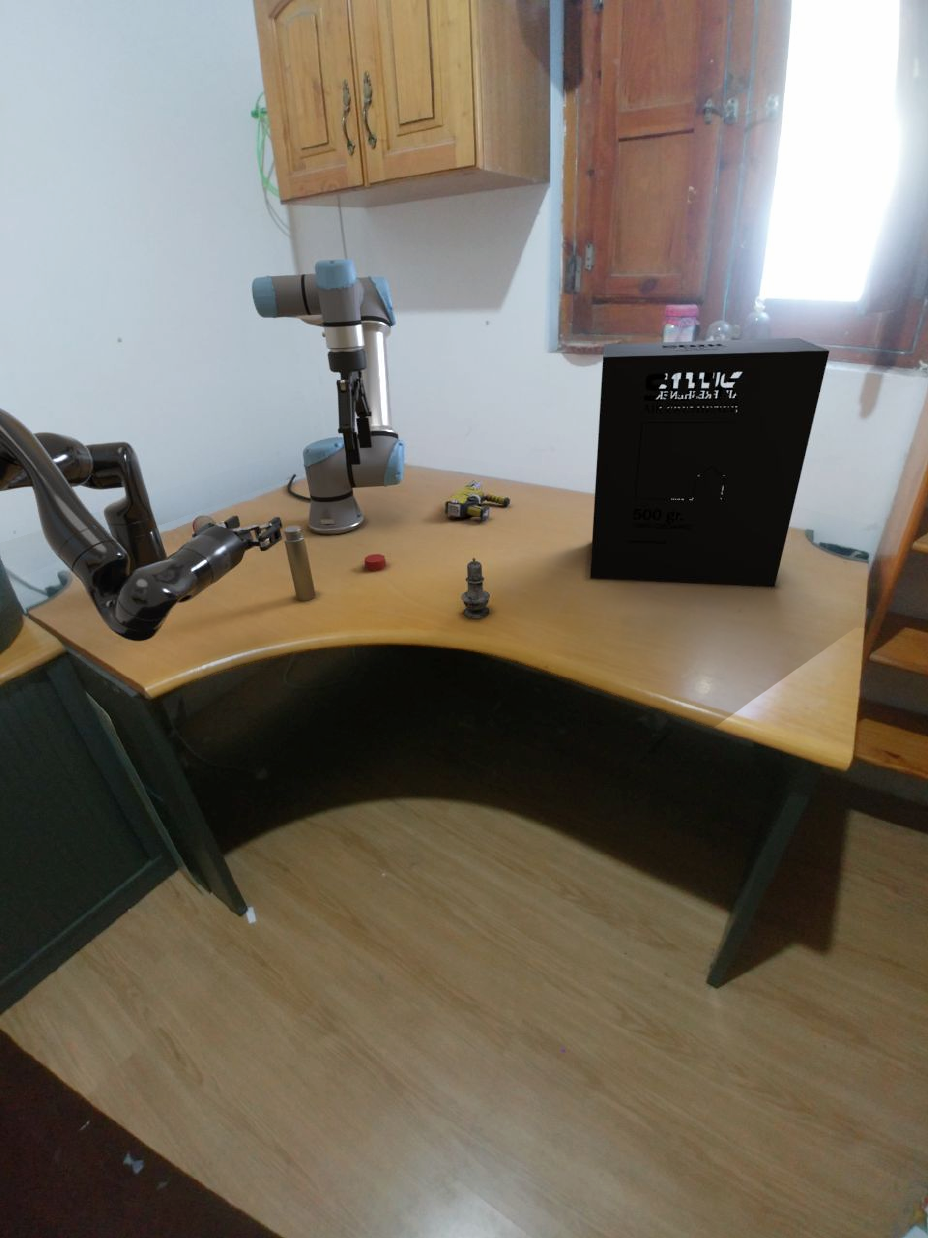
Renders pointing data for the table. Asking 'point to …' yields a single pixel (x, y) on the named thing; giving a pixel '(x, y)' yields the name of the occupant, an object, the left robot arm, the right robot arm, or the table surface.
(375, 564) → the lid
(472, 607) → the dark grey chess piece
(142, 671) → the table surface
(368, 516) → the table surface
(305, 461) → the right robot arm
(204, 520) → the eyeball
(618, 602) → the table surface
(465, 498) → the toy gun
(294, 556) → the bottle
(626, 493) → the cardboard box
